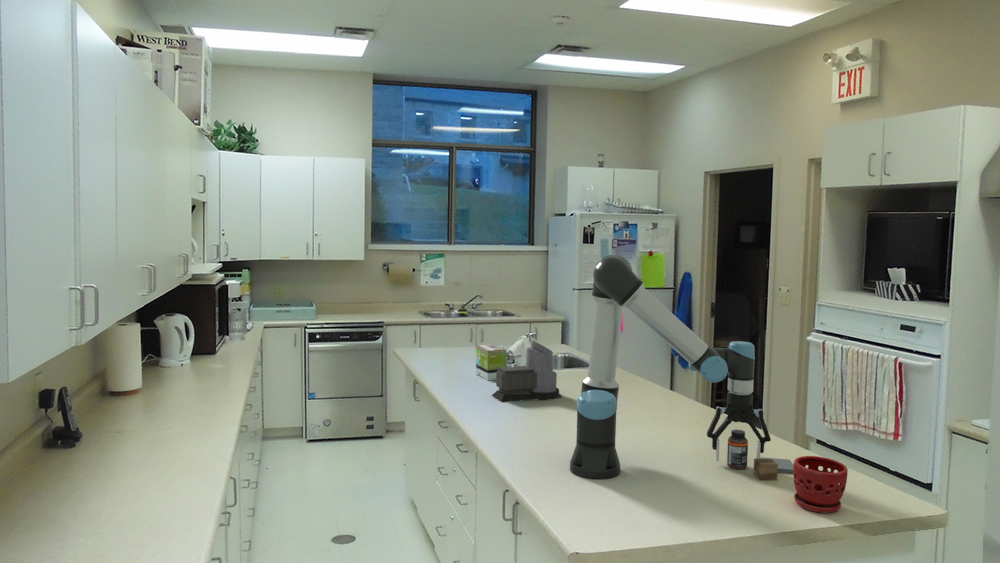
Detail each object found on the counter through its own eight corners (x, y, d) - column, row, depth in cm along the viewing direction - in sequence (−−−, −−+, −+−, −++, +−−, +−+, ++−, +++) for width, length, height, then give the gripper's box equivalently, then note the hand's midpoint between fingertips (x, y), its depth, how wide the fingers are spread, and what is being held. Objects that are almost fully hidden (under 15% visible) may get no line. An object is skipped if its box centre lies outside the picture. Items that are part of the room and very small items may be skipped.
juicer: (552, 390, 325) (553, 336, 323) (568, 398, 310) (569, 341, 308) (489, 394, 314) (490, 339, 312) (503, 403, 299) (504, 345, 297)
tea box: (475, 374, 356) (475, 344, 354) (493, 373, 360) (494, 343, 359) (487, 380, 342) (487, 349, 341) (506, 379, 346) (507, 348, 345)
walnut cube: (776, 480, 213) (777, 464, 213) (760, 480, 213) (761, 464, 213) (769, 474, 218) (770, 458, 218) (753, 474, 218) (754, 458, 218)
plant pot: (783, 506, 193) (785, 462, 192) (804, 494, 203) (806, 452, 202) (833, 521, 184) (836, 475, 183) (852, 507, 193) (855, 463, 192)
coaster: (796, 473, 219) (796, 469, 219) (761, 471, 221) (762, 467, 221) (789, 463, 229) (789, 459, 229) (756, 460, 231) (756, 457, 231)
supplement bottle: (731, 462, 229) (732, 427, 228) (749, 466, 225) (751, 430, 224) (723, 467, 224) (725, 431, 224) (742, 471, 221) (744, 435, 220)
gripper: (778, 391, 224) (775, 460, 226) (699, 387, 229) (696, 454, 231) (783, 397, 217) (779, 468, 219) (701, 392, 221) (698, 462, 223)
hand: (737, 461), depth 225 cm, fingers open, 11 cm apart
